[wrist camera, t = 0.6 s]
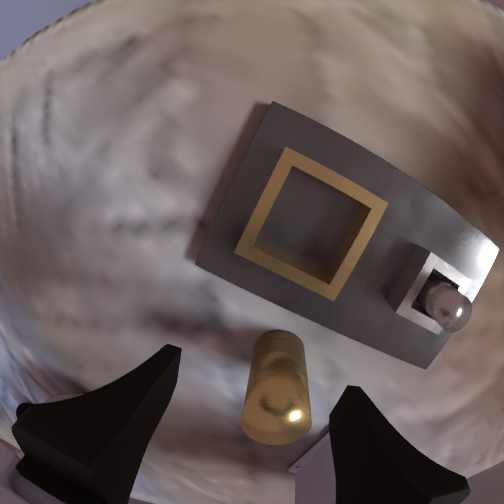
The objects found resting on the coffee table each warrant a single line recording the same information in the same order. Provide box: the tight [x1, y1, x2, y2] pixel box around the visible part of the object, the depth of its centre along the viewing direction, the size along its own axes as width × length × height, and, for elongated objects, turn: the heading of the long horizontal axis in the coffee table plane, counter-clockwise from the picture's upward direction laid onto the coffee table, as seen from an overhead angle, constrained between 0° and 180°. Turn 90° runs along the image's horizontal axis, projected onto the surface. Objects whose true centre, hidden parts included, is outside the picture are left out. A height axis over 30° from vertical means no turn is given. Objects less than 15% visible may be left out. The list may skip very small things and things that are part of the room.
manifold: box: [195, 101, 499, 370], centre depth 17 cm, size 12×21×6 cm, turn 64°
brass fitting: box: [241, 330, 312, 445], centre depth 18 cm, size 4×4×8 cm
